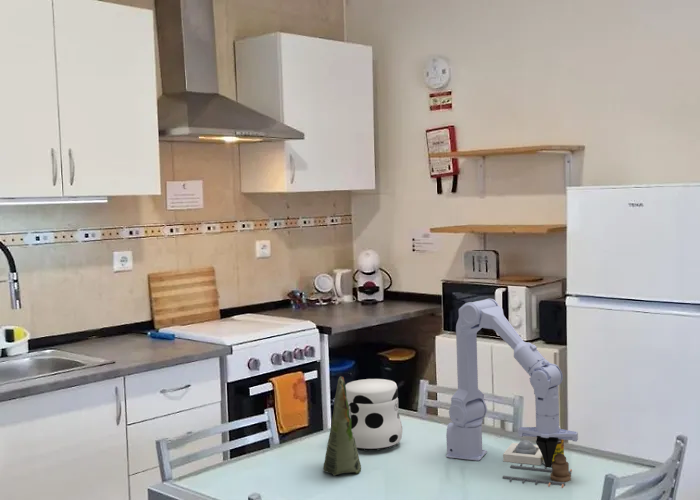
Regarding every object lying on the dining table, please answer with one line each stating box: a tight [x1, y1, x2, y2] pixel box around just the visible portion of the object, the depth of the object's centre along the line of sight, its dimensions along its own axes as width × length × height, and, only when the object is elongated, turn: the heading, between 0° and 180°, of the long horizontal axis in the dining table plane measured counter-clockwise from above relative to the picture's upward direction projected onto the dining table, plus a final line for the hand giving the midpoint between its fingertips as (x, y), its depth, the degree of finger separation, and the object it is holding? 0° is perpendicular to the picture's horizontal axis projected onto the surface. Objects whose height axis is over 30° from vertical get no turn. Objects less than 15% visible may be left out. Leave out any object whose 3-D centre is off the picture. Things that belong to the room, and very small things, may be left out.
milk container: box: [345, 378, 403, 452], centre depth 236 cm, size 17×17×18 cm
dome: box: [516, 439, 536, 455], centre depth 220 cm, size 5×5×5 cm
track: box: [501, 463, 573, 489], centre depth 206 cm, size 16×12×1 cm
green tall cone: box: [322, 375, 362, 476], centre depth 215 cm, size 11×12×25 cm
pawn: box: [549, 453, 572, 483], centre depth 203 cm, size 5×5×6 cm
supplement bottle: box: [542, 425, 565, 468], centre depth 214 cm, size 6×6×10 cm
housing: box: [502, 442, 543, 466], centre depth 220 cm, size 10×10×2 cm
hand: (548, 466), depth 204 cm, fingers closed
